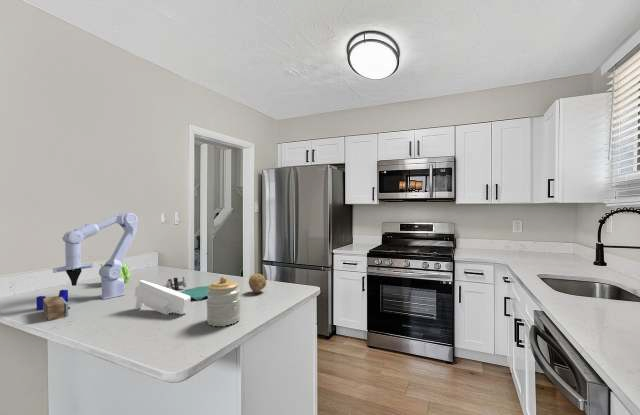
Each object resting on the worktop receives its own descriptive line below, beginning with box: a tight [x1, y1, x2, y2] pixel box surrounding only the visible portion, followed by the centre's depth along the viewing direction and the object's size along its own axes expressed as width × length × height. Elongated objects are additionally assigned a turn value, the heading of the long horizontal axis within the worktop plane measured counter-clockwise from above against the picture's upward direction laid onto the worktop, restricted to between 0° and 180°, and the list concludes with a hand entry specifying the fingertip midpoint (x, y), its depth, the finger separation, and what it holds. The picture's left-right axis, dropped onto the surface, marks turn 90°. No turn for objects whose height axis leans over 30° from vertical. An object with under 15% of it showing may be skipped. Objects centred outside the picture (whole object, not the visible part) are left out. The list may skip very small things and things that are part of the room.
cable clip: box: [35, 289, 69, 311], centre depth 142 cm, size 12×4×6 cm, turn 172°
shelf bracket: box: [134, 279, 192, 315], centre depth 131 cm, size 6×27×14 cm, turn 71°
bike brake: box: [162, 276, 188, 291], centre depth 166 cm, size 14×7×20 cm
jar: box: [205, 276, 242, 327], centre depth 119 cm, size 13×13×18 cm
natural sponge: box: [248, 273, 267, 294], centre depth 157 cm, size 9×9×10 cm
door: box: [59, 297, 71, 316], centre depth 132 cm, size 2×16×5 cm, turn 48°
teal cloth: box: [179, 285, 209, 301], centre depth 159 cm, size 20×30×2 cm, turn 152°
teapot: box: [99, 263, 131, 284], centre depth 180 cm, size 16×14×13 cm
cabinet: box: [42, 295, 66, 322], centre depth 129 cm, size 5×16×6 cm, turn 48°
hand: (74, 285), depth 141 cm, fingers closed
